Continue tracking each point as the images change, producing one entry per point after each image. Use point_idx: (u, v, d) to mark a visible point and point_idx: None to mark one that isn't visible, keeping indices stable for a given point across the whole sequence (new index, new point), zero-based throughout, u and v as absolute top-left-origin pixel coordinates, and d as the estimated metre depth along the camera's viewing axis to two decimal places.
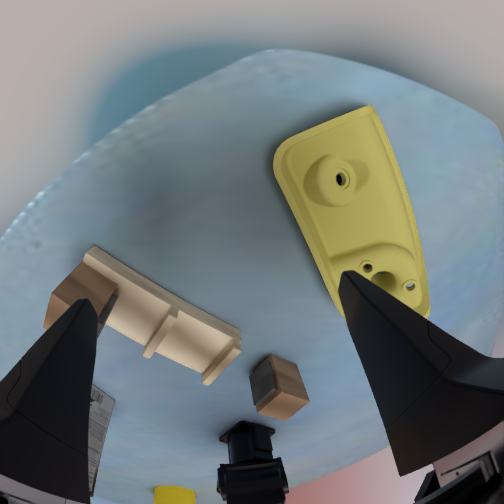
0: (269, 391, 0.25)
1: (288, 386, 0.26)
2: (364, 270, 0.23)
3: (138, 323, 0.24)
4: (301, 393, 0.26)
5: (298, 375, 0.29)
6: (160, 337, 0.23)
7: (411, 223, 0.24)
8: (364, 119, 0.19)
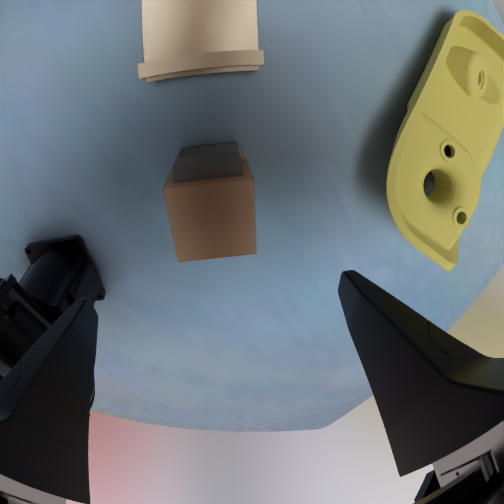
0: (228, 164, 0.12)
1: None
2: None
3: None
4: None
5: None
6: None
7: None
8: None
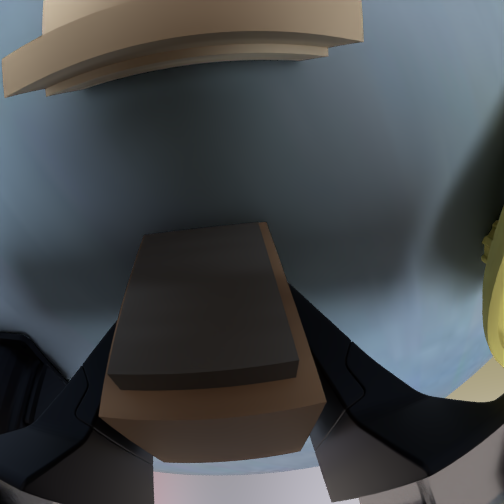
0: (260, 363, 0.04)
1: None
2: None
3: None
4: None
5: None
6: None
7: None
8: None
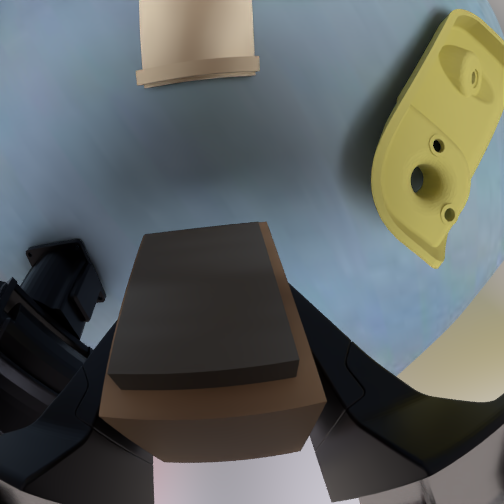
0: (260, 363, 0.04)
1: None
2: None
3: None
4: None
5: None
6: None
7: None
8: None
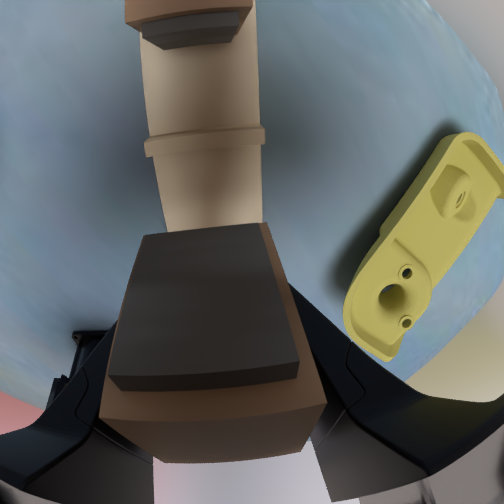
0: (260, 364, 0.04)
1: None
2: None
3: (187, 99, 0.12)
4: None
5: None
6: (209, 142, 0.13)
7: None
8: (497, 194, 0.17)
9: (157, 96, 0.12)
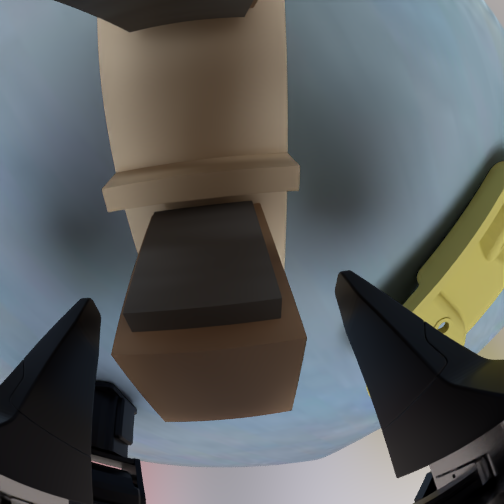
0: (250, 301, 0.05)
1: None
2: None
3: (171, 113, 0.08)
4: None
5: None
6: (207, 189, 0.08)
7: None
8: None
9: (123, 109, 0.07)
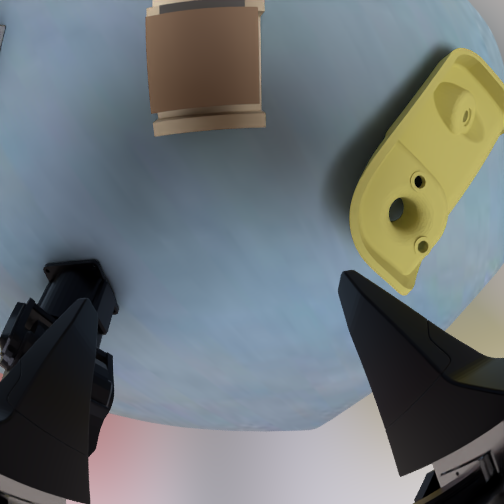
0: None
1: None
2: None
3: None
4: None
5: None
6: None
7: None
8: (503, 124, 0.14)
9: None
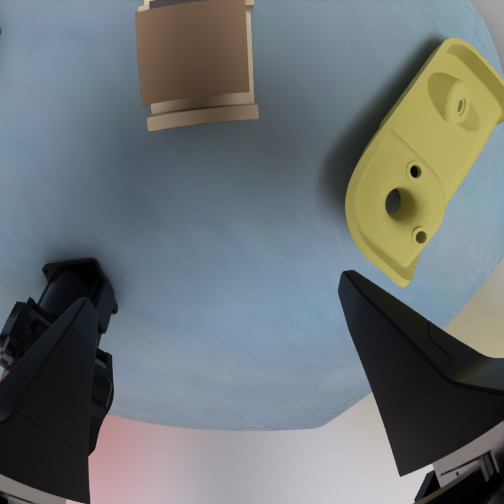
0: None
1: None
2: None
3: None
4: None
5: None
6: None
7: None
8: (499, 113, 0.14)
9: None
